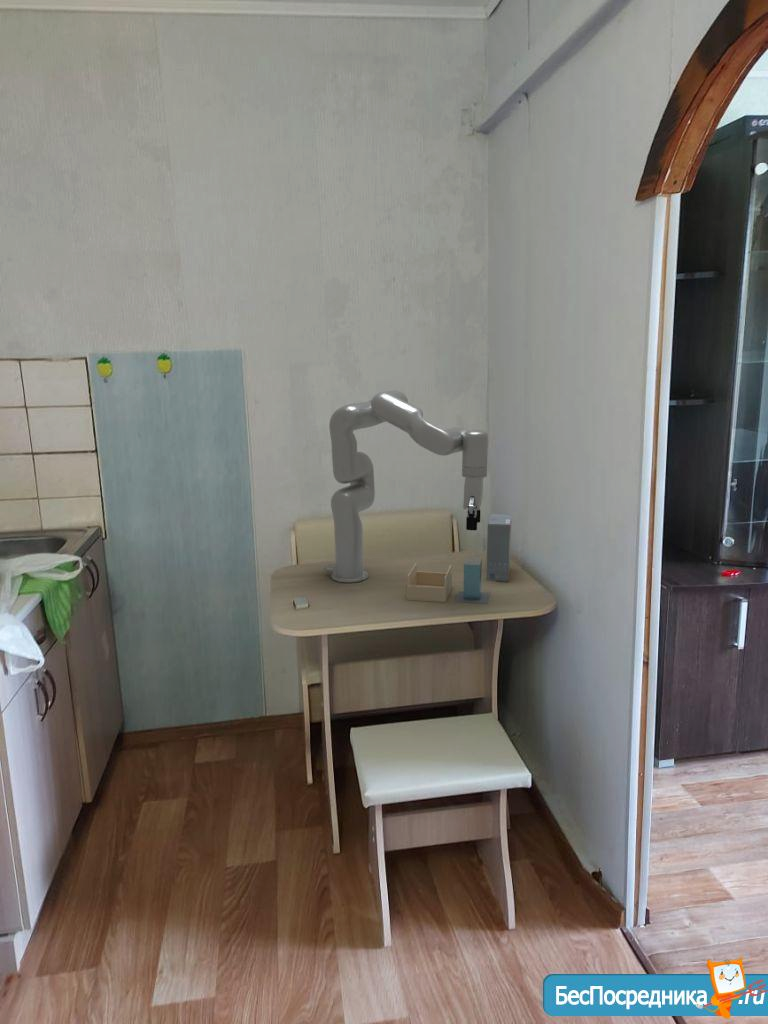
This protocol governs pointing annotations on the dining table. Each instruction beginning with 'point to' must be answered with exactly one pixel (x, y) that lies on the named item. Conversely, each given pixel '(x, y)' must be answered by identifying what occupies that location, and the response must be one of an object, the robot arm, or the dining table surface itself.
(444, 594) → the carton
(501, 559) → the hard drive box
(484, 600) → the mat
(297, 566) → the dining table surface
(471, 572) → the tin
